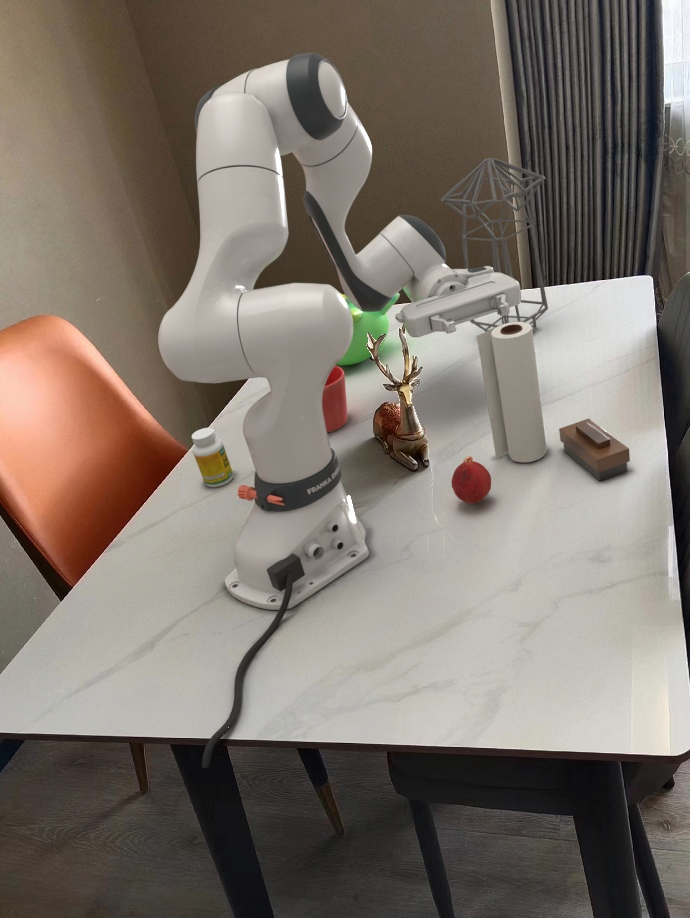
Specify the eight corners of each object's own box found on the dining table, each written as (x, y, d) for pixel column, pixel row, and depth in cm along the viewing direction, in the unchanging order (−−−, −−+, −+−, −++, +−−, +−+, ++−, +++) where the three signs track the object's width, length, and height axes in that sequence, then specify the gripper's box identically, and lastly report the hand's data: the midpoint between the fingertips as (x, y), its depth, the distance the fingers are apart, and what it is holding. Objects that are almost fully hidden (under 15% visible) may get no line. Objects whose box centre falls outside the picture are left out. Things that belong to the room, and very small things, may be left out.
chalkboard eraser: (561, 450, 136) (558, 422, 134) (590, 440, 137) (588, 412, 134) (599, 483, 127) (596, 453, 124) (630, 471, 127) (628, 442, 125)
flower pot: (331, 441, 156) (318, 393, 151) (288, 433, 163) (274, 387, 157) (366, 414, 162) (355, 367, 157) (324, 408, 169) (311, 362, 164)
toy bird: (353, 339, 196) (337, 277, 188) (413, 344, 187) (399, 278, 179) (303, 374, 186) (285, 309, 178) (364, 381, 176) (347, 312, 168)
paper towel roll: (554, 448, 137) (540, 322, 126) (532, 467, 134) (515, 339, 123) (517, 440, 142) (500, 317, 130) (495, 457, 139) (476, 333, 127)
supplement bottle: (204, 477, 155) (187, 431, 150) (233, 469, 155) (216, 422, 150) (205, 491, 150) (187, 443, 145) (235, 482, 151) (218, 435, 146)
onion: (483, 516, 126) (475, 470, 121) (449, 511, 129) (440, 465, 124) (500, 495, 129) (493, 449, 125) (467, 490, 132) (458, 445, 128)
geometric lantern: (460, 345, 181) (430, 172, 162) (505, 316, 189) (482, 148, 170) (520, 354, 170) (496, 170, 151) (565, 323, 178) (548, 145, 159)
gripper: (388, 297, 146) (414, 320, 135) (498, 262, 149) (533, 281, 138) (395, 332, 150) (422, 357, 138) (502, 297, 152) (537, 319, 141)
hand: (478, 319), depth 138 cm, fingers open, 8 cm apart
